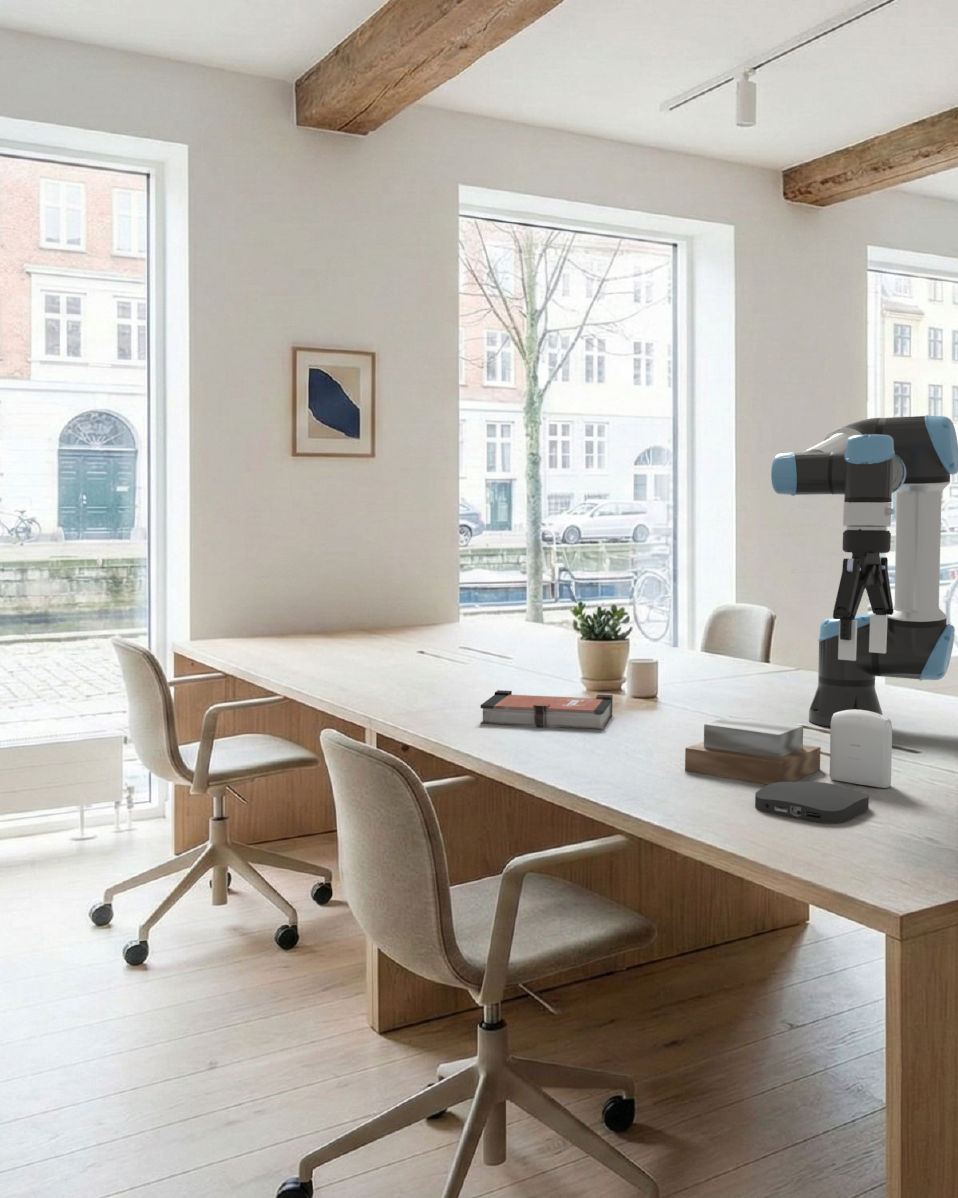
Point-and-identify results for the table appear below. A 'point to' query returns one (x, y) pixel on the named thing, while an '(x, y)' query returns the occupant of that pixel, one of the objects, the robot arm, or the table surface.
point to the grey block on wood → (753, 751)
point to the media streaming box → (812, 801)
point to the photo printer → (861, 748)
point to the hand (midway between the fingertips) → (862, 656)
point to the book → (547, 711)
